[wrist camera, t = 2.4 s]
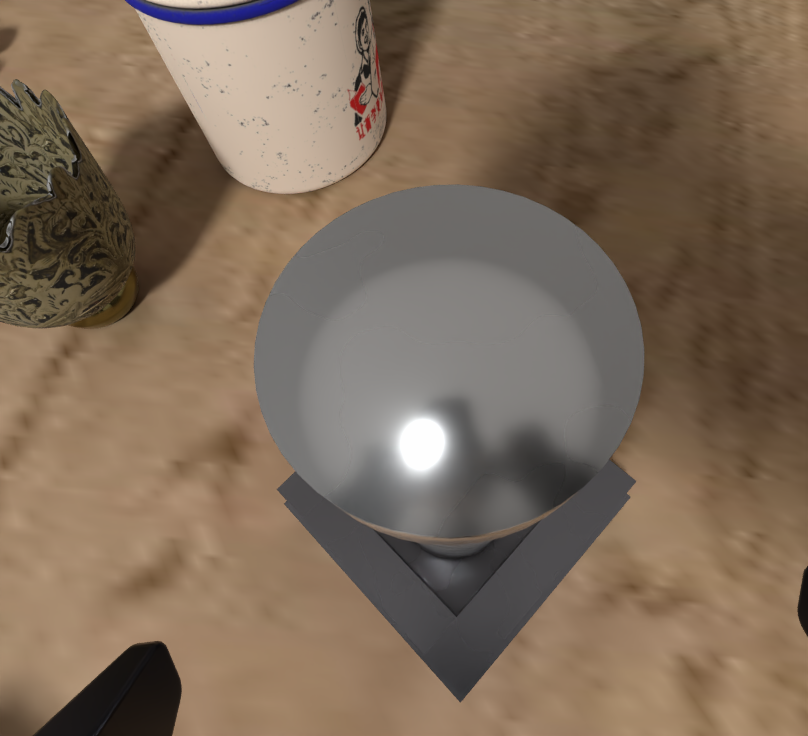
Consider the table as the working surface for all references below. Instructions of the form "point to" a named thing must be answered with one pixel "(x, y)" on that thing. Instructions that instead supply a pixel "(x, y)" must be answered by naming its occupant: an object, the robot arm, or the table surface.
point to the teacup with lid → (276, 84)
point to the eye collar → (461, 574)
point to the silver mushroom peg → (449, 364)
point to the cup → (58, 223)
